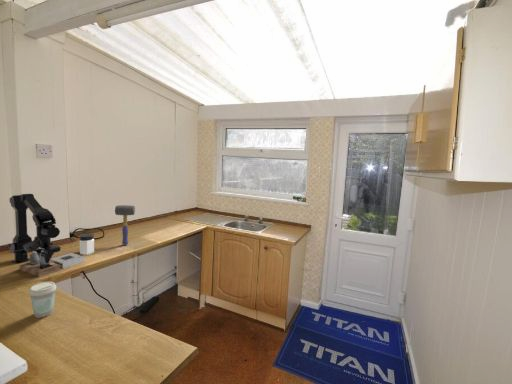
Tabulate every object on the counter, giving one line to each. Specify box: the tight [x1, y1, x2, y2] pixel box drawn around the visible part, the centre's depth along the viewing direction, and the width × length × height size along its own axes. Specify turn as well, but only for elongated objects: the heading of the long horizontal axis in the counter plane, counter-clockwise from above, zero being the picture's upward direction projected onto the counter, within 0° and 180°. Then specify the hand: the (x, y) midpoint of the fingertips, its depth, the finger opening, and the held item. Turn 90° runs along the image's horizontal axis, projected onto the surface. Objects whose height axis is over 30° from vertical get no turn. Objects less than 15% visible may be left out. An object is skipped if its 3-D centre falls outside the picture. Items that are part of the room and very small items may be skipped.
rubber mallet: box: [114, 204, 136, 246], centre depth 185 cm, size 12×8×30 cm, turn 106°
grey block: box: [39, 249, 50, 269], centre depth 137 cm, size 4×4×12 cm
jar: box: [78, 233, 95, 256], centre depth 167 cm, size 9×8×12 cm
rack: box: [18, 251, 61, 278], centre depth 139 cm, size 18×10×9 cm, turn 68°
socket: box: [49, 252, 85, 269], centre depth 151 cm, size 12×12×3 cm
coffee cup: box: [28, 281, 57, 319], centre depth 102 cm, size 8×8×12 cm
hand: (44, 262), depth 138 cm, fingers closed on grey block, 4 cm apart
